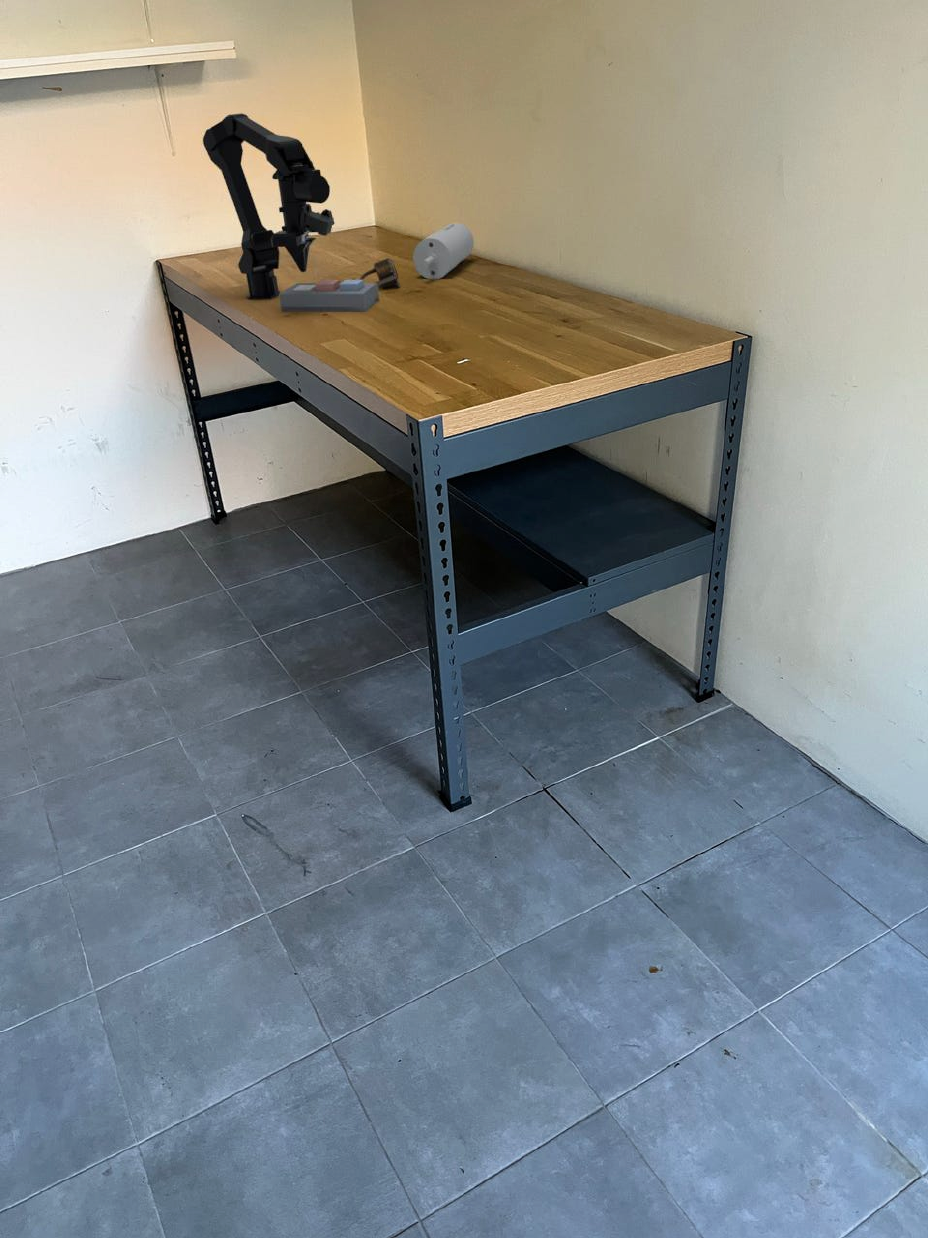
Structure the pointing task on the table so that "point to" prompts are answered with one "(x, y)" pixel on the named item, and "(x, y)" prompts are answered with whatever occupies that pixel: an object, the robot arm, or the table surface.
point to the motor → (443, 251)
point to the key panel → (329, 299)
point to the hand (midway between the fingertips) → (303, 271)
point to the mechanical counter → (384, 273)
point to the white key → (305, 288)
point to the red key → (328, 285)
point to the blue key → (351, 285)
